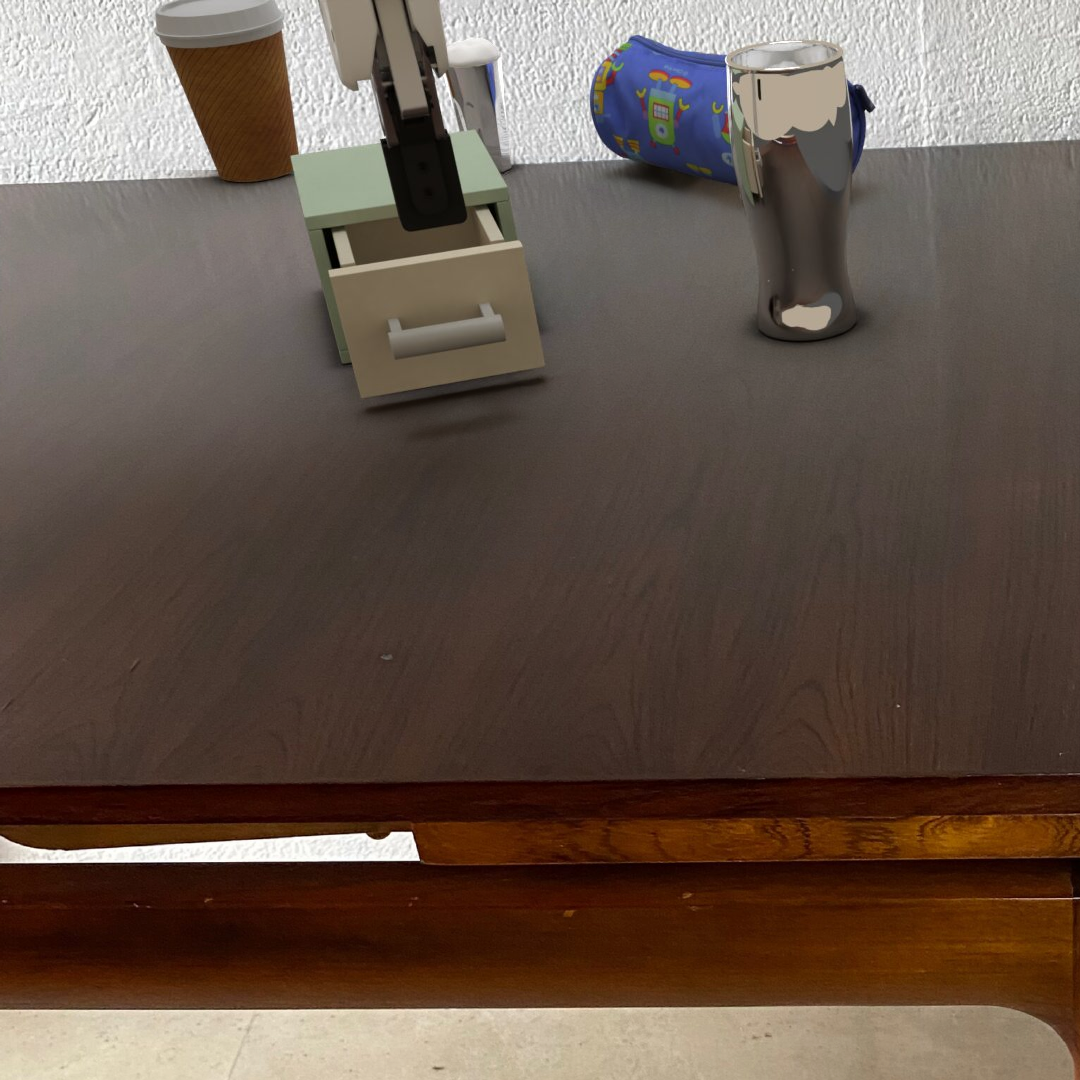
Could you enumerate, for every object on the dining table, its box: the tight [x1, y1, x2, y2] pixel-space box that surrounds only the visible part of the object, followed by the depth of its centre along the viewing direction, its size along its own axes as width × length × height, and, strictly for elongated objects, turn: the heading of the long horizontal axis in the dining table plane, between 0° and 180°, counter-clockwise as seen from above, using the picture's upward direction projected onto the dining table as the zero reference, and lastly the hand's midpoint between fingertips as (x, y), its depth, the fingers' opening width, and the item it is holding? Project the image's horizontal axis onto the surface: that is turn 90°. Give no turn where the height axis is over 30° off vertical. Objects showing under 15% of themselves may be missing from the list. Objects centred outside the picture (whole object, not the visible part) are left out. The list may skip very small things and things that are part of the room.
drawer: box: [328, 204, 546, 399], centre depth 99 cm, size 17×10×7 cm, turn 19°
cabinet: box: [291, 130, 518, 365], centre depth 107 cm, size 14×12×9 cm
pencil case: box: [589, 34, 877, 187], centre depth 125 cm, size 22×9×10 cm, turn 49°
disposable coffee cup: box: [153, 0, 300, 183], centre depth 133 cm, size 10×10×12 cm
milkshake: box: [442, 36, 512, 174], centre depth 131 cm, size 4×5×10 cm
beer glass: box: [725, 39, 858, 342], centre depth 100 cm, size 7×7×15 cm
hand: (434, 222), depth 85 cm, fingers closed
